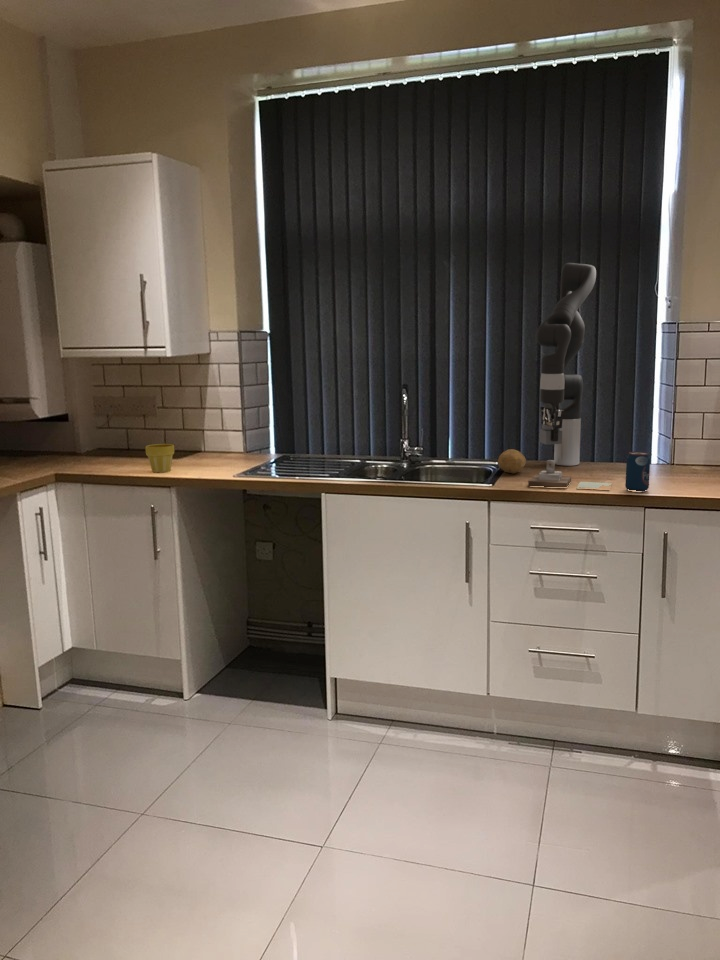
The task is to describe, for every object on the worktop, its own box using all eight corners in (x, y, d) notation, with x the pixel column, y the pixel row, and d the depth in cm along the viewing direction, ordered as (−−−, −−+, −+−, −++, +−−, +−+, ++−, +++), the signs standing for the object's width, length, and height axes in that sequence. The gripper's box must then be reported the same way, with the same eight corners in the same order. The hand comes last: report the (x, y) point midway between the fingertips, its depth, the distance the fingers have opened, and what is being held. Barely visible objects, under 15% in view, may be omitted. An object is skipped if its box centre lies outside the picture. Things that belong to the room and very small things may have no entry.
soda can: (648, 493, 249) (650, 455, 246) (624, 492, 251) (626, 454, 249) (649, 489, 255) (650, 451, 253) (625, 488, 257) (627, 450, 255)
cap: (555, 441, 265) (556, 422, 264) (562, 443, 260) (562, 424, 259) (539, 442, 264) (539, 422, 263) (545, 444, 259) (546, 424, 258)
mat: (580, 483, 266) (580, 481, 266) (611, 485, 262) (611, 483, 262) (576, 489, 257) (576, 487, 257) (609, 491, 253) (609, 489, 253)
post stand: (534, 480, 272) (535, 457, 271) (571, 482, 268) (571, 458, 266) (528, 487, 261) (529, 462, 260) (566, 489, 257) (567, 464, 255)
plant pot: (153, 468, 308) (152, 443, 306) (179, 469, 307) (178, 443, 305) (142, 473, 298) (140, 447, 296) (169, 473, 297) (167, 447, 295)
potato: (497, 476, 281) (497, 453, 279) (498, 469, 294) (498, 447, 293) (525, 476, 279) (526, 454, 278) (525, 469, 293) (525, 447, 291)
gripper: (572, 389, 252) (570, 442, 256) (554, 385, 266) (553, 436, 269) (549, 389, 251) (547, 443, 254) (533, 386, 265) (531, 437, 268)
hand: (550, 439), depth 262 cm, fingers closed on cap, 5 cm apart
